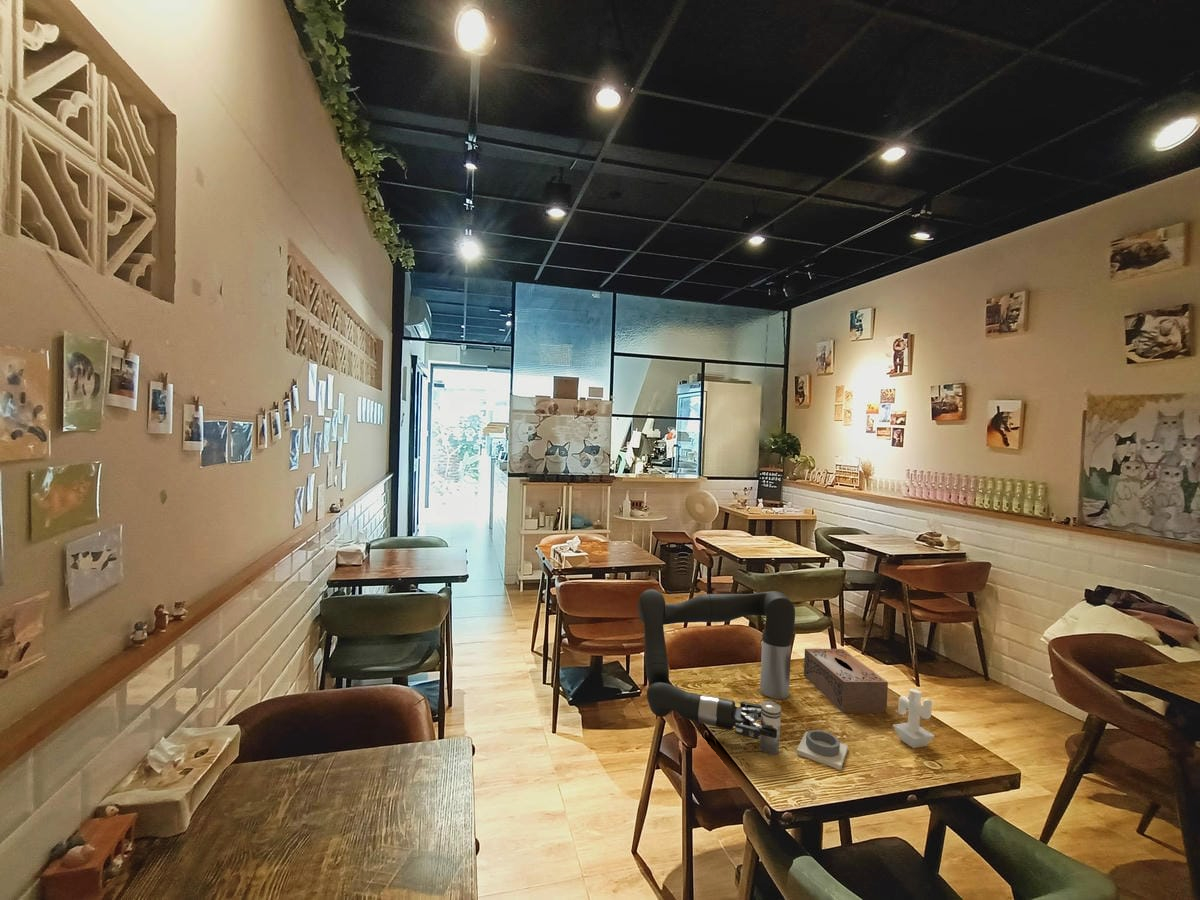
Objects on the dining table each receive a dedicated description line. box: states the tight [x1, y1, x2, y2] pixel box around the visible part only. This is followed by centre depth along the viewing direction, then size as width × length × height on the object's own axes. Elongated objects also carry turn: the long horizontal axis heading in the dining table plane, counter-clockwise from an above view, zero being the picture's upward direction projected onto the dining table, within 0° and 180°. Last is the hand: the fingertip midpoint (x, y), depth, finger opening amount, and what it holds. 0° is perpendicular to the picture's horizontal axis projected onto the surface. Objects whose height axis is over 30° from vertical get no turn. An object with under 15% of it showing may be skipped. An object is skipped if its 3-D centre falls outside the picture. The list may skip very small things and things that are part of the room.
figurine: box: [892, 688, 935, 749], centre depth 146 cm, size 7×9×15 cm
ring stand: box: [795, 729, 849, 771], centre depth 140 cm, size 11×11×4 cm
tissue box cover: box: [803, 648, 889, 714], centre depth 174 cm, size 26×14×10 cm, turn 5°
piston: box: [759, 700, 782, 756], centre depth 140 cm, size 5×5×12 cm
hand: (777, 725), depth 139 cm, fingers open, 8 cm apart
